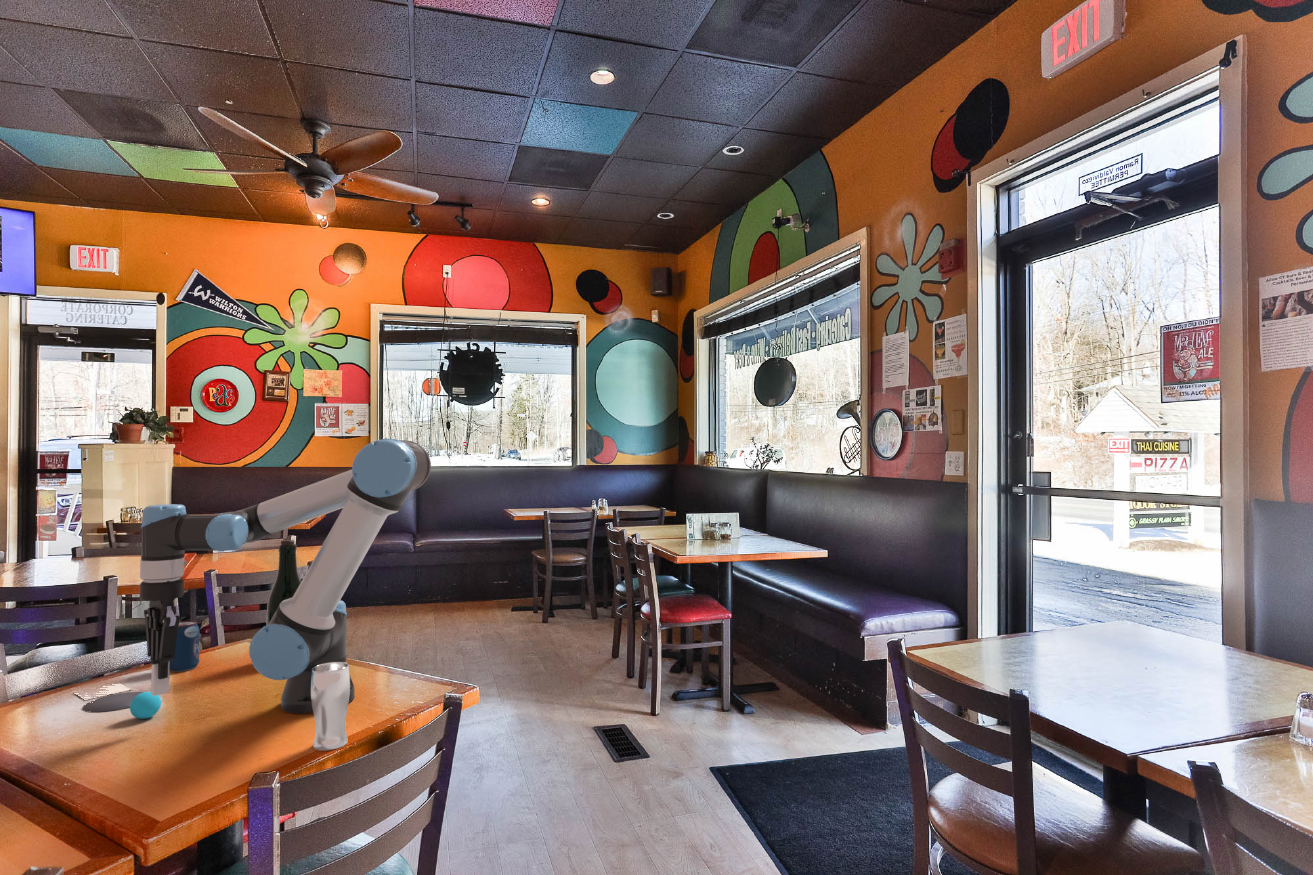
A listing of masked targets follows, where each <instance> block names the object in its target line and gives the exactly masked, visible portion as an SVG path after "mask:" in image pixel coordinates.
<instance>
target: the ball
mask: <svg viewBox="0 0 1313 875" xmlns="http://www.w3.org/2000/svg"><path fill="white" fill-rule="evenodd" d="M142 692H143V693H141V694H139V695H137V696H136V697H135V698H134V699H133V700H132V702H131V704H130V708H129V711H130V713H131V715H132V716H133V717H134V718H136V719H139V720H140V719H141V720H145V719H150V718H151V717H153V716H155V715H156V714H157V713H158V712H159V711H160V709H161V706H162V698H161V697H160V695H155V696H153V695H151V691H142Z"/></svg>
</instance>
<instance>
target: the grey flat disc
mask: <svg viewBox="0 0 1313 875" xmlns="http://www.w3.org/2000/svg"><path fill="white" fill-rule="evenodd" d="M143 692H144V691H126V692H122V693H117V694H113V695H109V696H104V697H100V698H95V699H94V700H95V701H93V700H91V701H89V702H86V703H85V704H86V705H85V704H84V705H83V706H82V710H83V711H84V710H85V712H87V711H91V712H90V713H107V712H108V713H109V712H114V711H121V710H125V709H130V704H131V702H132V700H133V699H134V698H135V697H136V696H137V695H139V694H141V693H143ZM90 702H91V703H90ZM92 702H93V703H92Z"/></svg>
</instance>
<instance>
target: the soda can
mask: <svg viewBox="0 0 1313 875" xmlns="http://www.w3.org/2000/svg"><path fill="white" fill-rule="evenodd" d="M199 664H200V627H199V625H198V622H197V621H196V620H185V621H184V620H183V621H180V622H179V625H178V631H177V640H176V648H175V657H174V660H171V661H170V664H169V671H170V672H173V673H181V672H182V673H183V672H187V671H192V670H195V669H196V668H197V667H198V665H199Z"/></svg>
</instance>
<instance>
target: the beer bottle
mask: <svg viewBox="0 0 1313 875" xmlns="http://www.w3.org/2000/svg"><path fill="white" fill-rule="evenodd" d="M297 550H298V548H297V544H295V539H283V540H281V541H280V545H279V546H278V568H277V574H276V578H275V581H274V583H273V586H272V588H271V591H270V594H269V596H268V601H267V605H266V608H267V609H266V625H265V626H267V625H268V624H269V622H270V621H271V619H272V617H273V616H274V614H275V612H276V610H277V609H278V607H279V605H280V603H281V602H282V601H283V600H286V599H289V598H292V597H293V596H294V594H295V592H296V591H297V589H298V587H299V585H300V584H301V582H302V580H301V578H300V576H299V571H298V567H297V565H298V563H297Z"/></svg>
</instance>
